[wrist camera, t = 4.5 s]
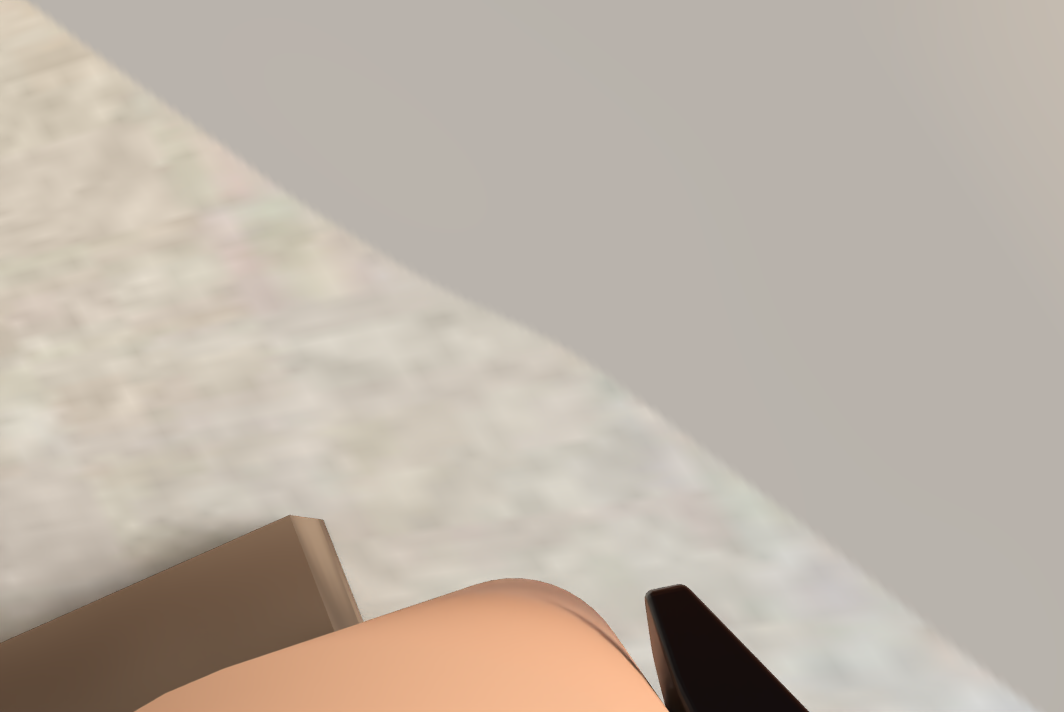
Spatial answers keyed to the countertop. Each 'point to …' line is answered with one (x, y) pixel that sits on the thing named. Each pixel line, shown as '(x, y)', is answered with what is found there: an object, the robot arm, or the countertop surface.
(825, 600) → the countertop surface
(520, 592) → the peg
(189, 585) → the socket block
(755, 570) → the countertop surface
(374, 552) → the countertop surface
